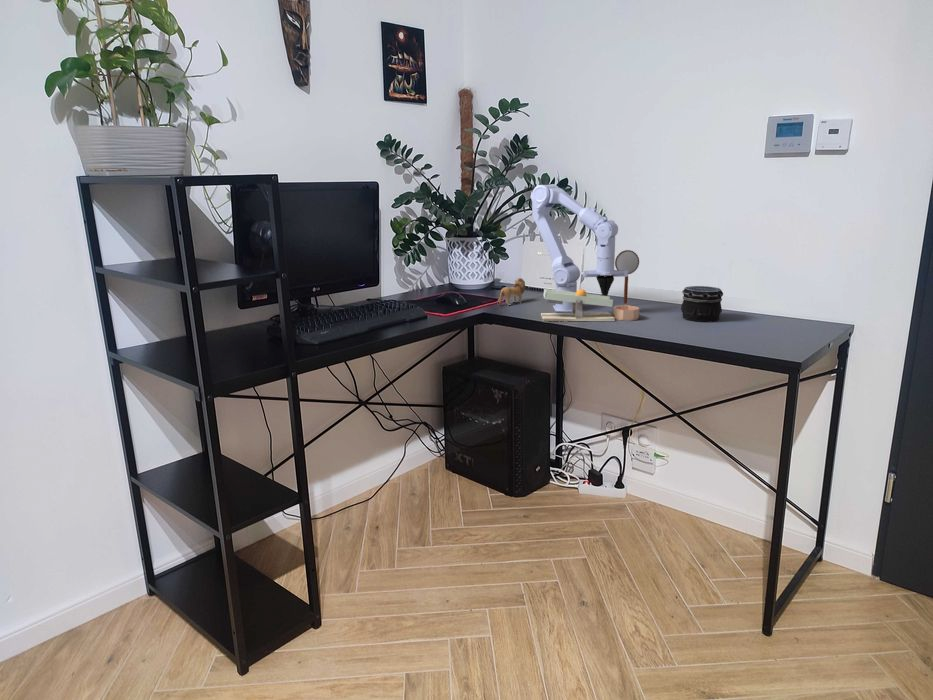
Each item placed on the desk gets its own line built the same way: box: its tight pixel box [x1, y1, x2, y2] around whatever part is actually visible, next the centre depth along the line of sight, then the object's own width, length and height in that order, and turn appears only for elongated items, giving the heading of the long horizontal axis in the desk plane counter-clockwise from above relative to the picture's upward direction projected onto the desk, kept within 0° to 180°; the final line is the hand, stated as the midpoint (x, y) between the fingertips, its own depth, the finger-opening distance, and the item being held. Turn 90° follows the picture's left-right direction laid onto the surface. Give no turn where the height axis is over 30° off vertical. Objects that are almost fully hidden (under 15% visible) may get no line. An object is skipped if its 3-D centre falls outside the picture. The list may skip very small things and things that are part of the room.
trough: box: [542, 288, 614, 308], centre depth 221 cm, size 12×23×4 cm, turn 88°
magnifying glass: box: [614, 249, 640, 305], centre depth 236 cm, size 9×2×20 cm, turn 93°
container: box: [680, 285, 724, 323], centre depth 215 cm, size 13×13×10 cm
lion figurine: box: [497, 277, 526, 306], centre depth 244 cm, size 15×5×9 cm, turn 141°
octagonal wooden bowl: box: [612, 304, 640, 322], centre depth 218 cm, size 8×8×4 cm
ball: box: [576, 288, 587, 297], centre depth 217 cm, size 4×4×4 cm
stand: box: [540, 300, 616, 323], centre depth 218 cm, size 11×23×7 cm, turn 88°
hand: (604, 298), depth 224 cm, fingers closed, pressing on trough
